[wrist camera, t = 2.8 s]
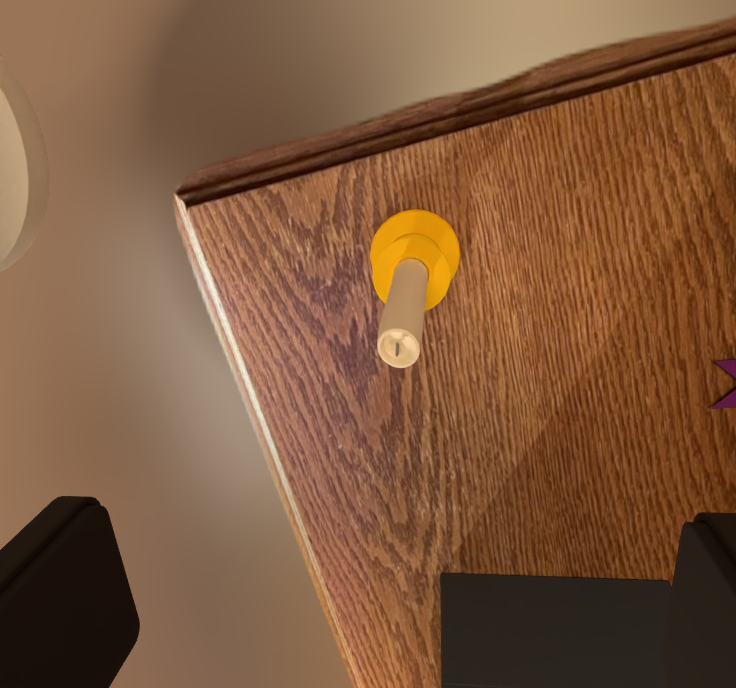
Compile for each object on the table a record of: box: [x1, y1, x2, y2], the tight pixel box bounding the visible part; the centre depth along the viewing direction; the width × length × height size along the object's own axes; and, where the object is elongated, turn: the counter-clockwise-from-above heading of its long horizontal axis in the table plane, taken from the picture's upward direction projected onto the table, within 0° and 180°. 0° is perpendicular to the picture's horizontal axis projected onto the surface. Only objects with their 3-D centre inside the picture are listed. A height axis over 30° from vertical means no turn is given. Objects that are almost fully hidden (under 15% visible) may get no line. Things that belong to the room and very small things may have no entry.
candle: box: [370, 209, 460, 368], centre depth 25 cm, size 5×5×16 cm
